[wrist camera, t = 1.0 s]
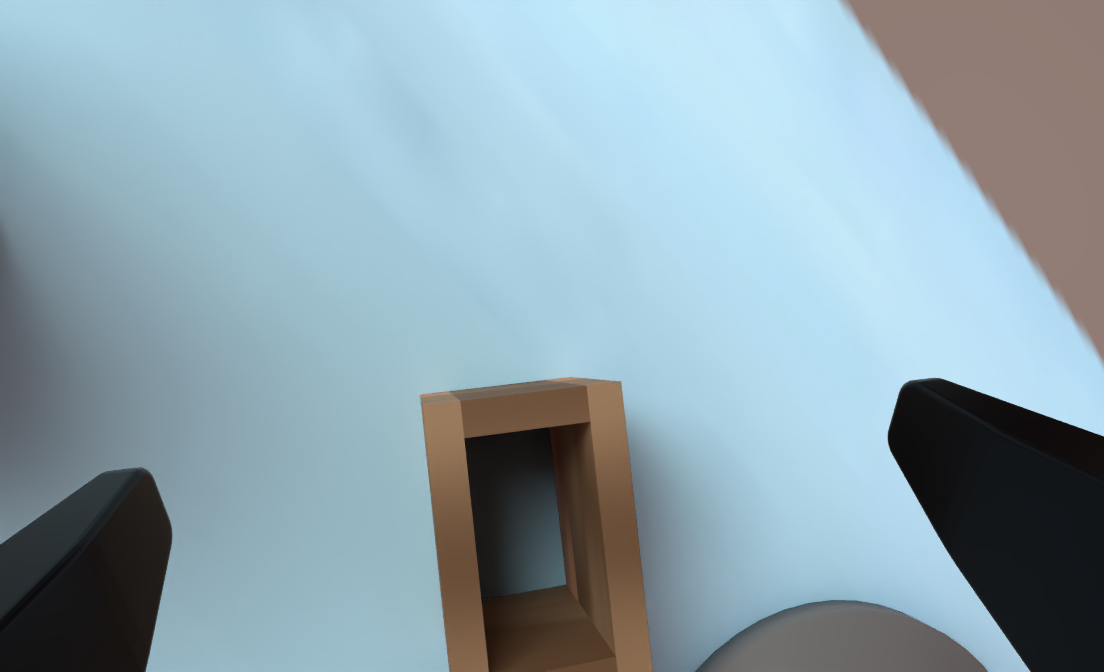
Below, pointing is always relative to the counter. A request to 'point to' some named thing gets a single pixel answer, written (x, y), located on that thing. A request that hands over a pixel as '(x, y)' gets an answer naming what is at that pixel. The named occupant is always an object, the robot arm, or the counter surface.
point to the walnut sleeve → (585, 521)
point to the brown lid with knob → (841, 643)
